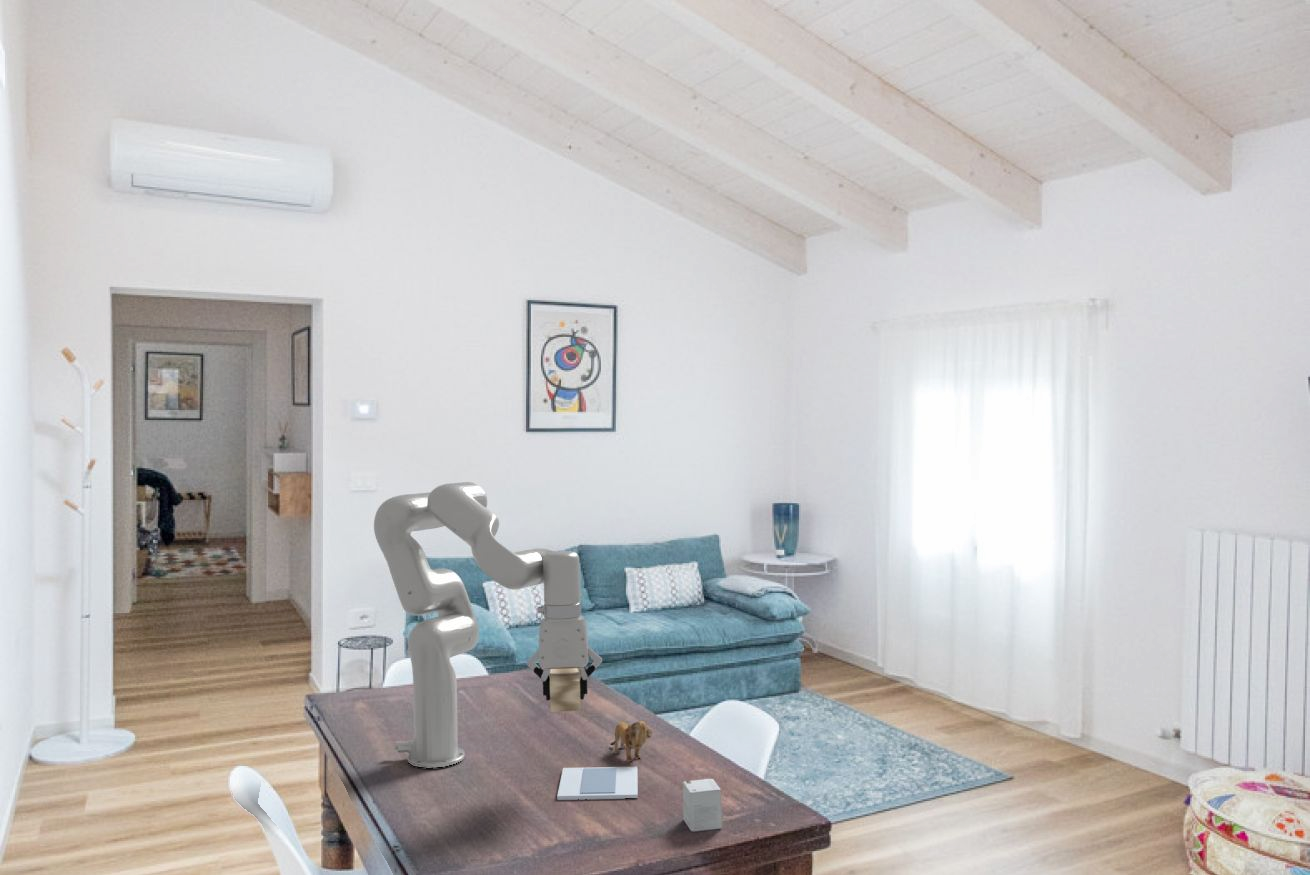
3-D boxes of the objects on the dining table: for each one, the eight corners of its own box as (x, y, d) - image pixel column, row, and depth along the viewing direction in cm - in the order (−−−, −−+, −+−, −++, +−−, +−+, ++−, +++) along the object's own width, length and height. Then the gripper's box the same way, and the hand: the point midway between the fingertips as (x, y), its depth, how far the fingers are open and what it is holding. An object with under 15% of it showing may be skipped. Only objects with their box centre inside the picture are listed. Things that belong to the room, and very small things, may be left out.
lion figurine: (656, 762, 218) (655, 721, 218) (636, 767, 215) (635, 726, 215) (619, 744, 230) (619, 706, 230) (600, 749, 227) (599, 710, 227)
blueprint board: (557, 800, 196) (557, 795, 196) (563, 771, 212) (563, 767, 212) (637, 798, 197) (637, 793, 197) (637, 770, 213) (637, 765, 213)
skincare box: (722, 829, 182) (722, 789, 181) (690, 832, 180) (690, 792, 180) (713, 816, 187) (713, 777, 187) (682, 819, 186) (682, 780, 186)
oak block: (550, 712, 197) (549, 682, 197) (551, 694, 210) (550, 666, 210) (580, 710, 197) (579, 680, 197) (579, 693, 210) (578, 665, 210)
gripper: (518, 616, 200) (521, 704, 200) (603, 613, 200) (606, 702, 200) (523, 609, 207) (526, 694, 207) (605, 607, 207) (608, 692, 207)
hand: (565, 697), depth 204 cm, fingers closed on oak block, 6 cm apart
